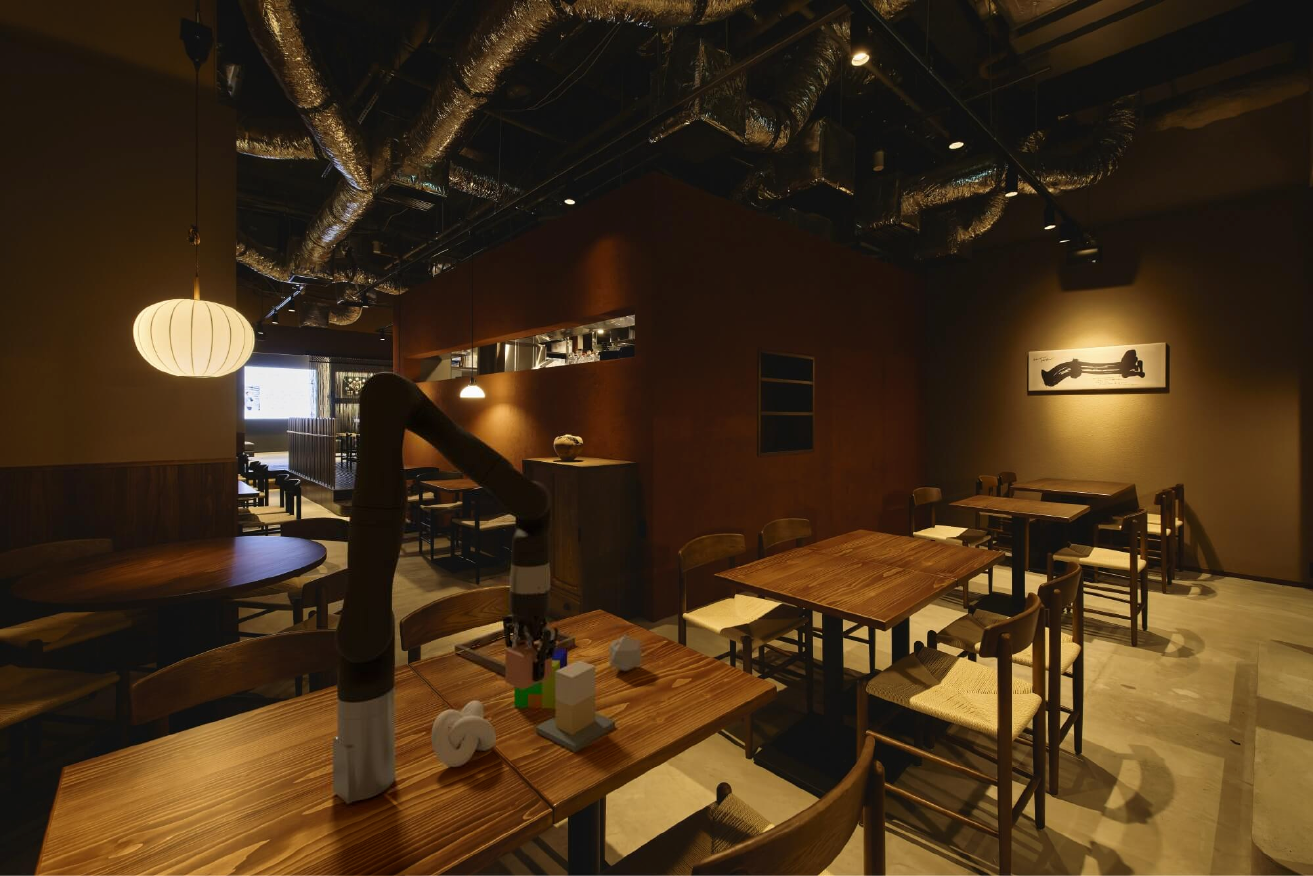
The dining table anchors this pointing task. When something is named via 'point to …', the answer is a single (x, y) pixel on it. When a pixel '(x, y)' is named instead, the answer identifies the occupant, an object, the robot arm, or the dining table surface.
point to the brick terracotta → (523, 667)
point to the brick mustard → (575, 715)
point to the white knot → (461, 734)
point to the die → (625, 653)
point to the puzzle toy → (542, 687)
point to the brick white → (575, 682)
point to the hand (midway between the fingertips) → (528, 675)
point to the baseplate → (579, 737)
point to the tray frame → (493, 663)
